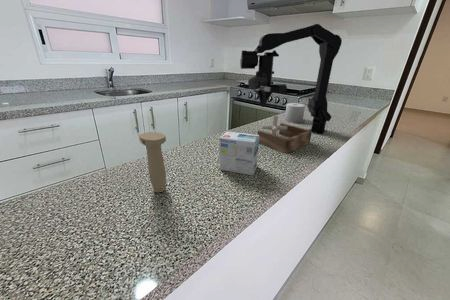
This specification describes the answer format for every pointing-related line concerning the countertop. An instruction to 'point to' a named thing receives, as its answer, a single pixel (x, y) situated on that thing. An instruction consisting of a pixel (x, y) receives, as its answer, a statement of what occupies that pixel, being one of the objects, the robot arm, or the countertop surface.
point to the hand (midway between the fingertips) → (262, 106)
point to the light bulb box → (239, 152)
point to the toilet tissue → (294, 112)
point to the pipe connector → (274, 126)
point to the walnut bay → (295, 141)
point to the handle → (155, 159)
